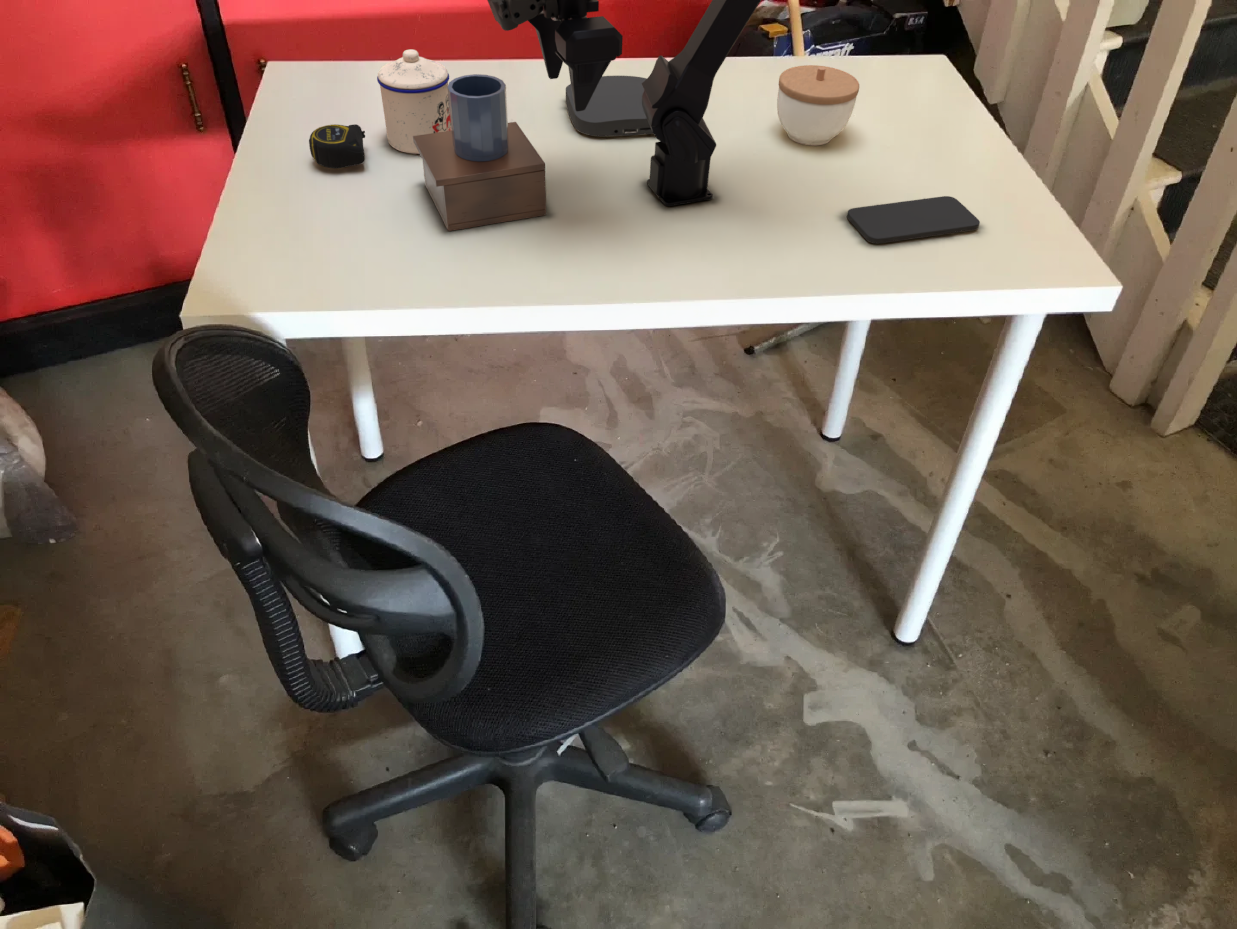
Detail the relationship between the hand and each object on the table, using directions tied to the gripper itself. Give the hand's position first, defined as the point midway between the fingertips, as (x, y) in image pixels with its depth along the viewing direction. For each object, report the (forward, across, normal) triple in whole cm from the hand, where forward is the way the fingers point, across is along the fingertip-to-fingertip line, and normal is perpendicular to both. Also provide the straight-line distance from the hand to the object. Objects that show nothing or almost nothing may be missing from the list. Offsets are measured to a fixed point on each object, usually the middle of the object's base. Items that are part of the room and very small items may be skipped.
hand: (566, 93), depth 107 cm
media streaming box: (+13, -20, +15) cm, 28 cm away
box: (+13, -2, -10) cm, 16 cm away
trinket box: (+13, -6, +38) cm, 41 cm away
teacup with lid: (+13, -22, -13) cm, 29 cm away
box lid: (+7, -3, -10) cm, 13 cm away
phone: (+13, +19, +38) cm, 44 cm away
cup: (+6, -2, -10) cm, 12 cm away
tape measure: (+13, -18, -24) cm, 33 cm away
